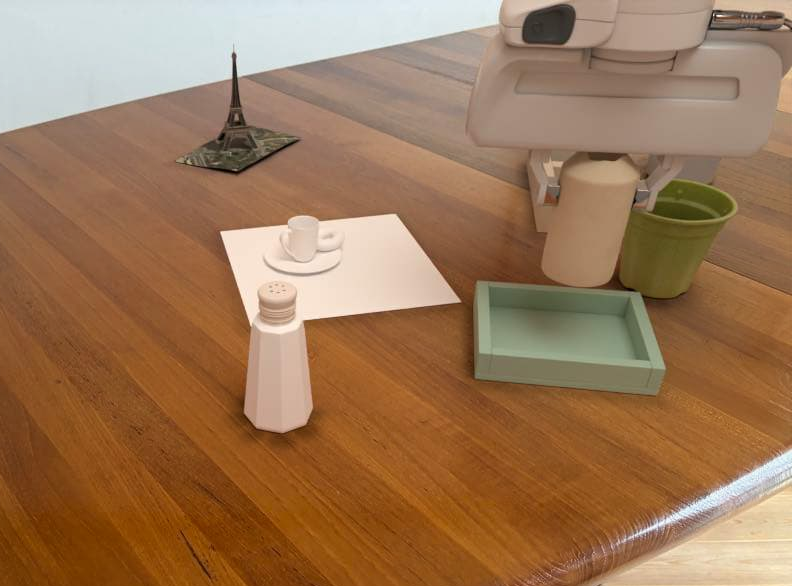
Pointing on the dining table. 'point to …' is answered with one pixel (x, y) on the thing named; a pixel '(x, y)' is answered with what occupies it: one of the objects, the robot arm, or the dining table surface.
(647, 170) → the can
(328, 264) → the teacup and saucer
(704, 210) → the plant pot
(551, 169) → the holder
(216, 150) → the eiffel tower figurine
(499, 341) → the tray
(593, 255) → the candle
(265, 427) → the pepper shaker
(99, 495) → the dining table surface
